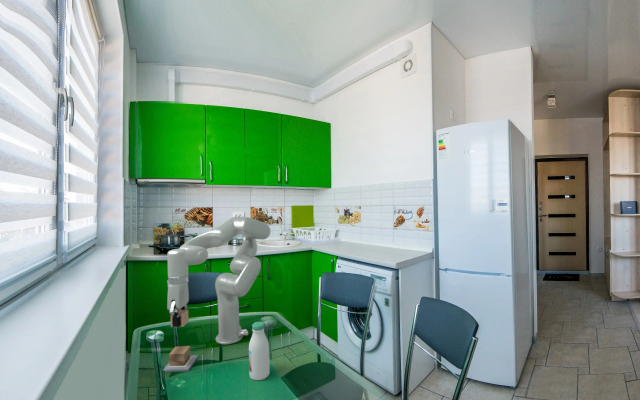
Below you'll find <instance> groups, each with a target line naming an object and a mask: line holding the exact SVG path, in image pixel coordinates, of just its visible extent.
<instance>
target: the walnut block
mask: <svg viewBox="0 0 640 400" xmlns="http://www.w3.org/2000/svg"><path fill="white" fill-rule="evenodd" d="M191 356H192V355H191V346H190V345H186V346H185V345H184V346H183V345H182V346H175V347H174V348H173V349H172V350H171V351H170V352H169V354H168V358H169V361H168V363H169V365H170V366H185V365H186V363H187V362H188V361H189V359H190V358H191Z"/></svg>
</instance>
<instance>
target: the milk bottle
mask: <svg viewBox="0 0 640 400" xmlns="http://www.w3.org/2000/svg"><path fill="white" fill-rule="evenodd" d="M251 327H252V329H251V331H252V335H251V338H250V339H249V340H250V341H249V343H248V344H249V345H248V364H249V365H248V368H249V369H248V371H249V377H250V379H252V381H262V380H265V379H266V378H268V377H269V375H270V370H271V368H270V367H271V366H270V343H269V340H268V338H267V336H266V333H265V322H263V321H255V322H254V323H252V325H251Z"/></svg>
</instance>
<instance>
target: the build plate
mask: <svg viewBox="0 0 640 400" xmlns="http://www.w3.org/2000/svg"><path fill="white" fill-rule="evenodd" d="M190 356H191V358H190V359H189V361H188V362H187V363H186V365H185V366H170V365H169V362H168V363H167V364H166V365H165V367H164V368H163V369H162V372H163V371H165V372H189V371H190V369H192V367H193V365H194V363H195V362H196V361H197V359H198V358H199V355H193V354H192V355H190Z"/></svg>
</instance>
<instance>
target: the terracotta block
mask: <svg viewBox="0 0 640 400" xmlns="http://www.w3.org/2000/svg"><path fill="white" fill-rule="evenodd" d="M175 312H178V311H175ZM180 316H181V326H180V327H179V328H183V327H184V326H185V325H187V323H189V321H190V320H189V309H187V310H180ZM170 328H174V327H173V326H172V315H171V314H170Z"/></svg>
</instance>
